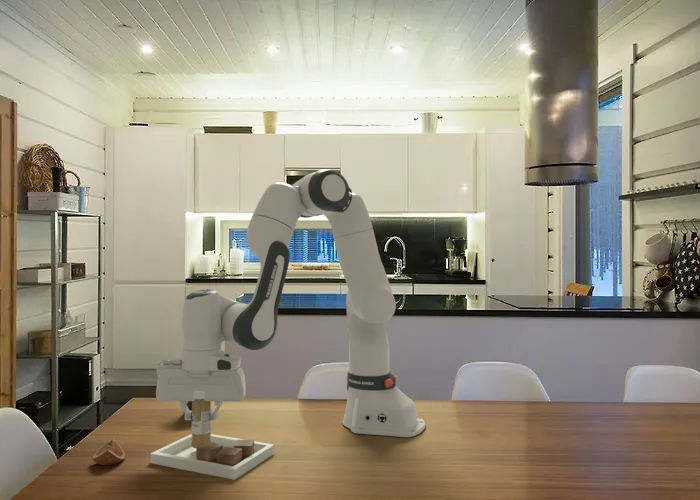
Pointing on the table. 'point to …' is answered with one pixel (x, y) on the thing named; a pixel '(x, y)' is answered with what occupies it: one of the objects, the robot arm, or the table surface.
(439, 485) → the table surface
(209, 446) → the cube
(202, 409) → the sprinkles bottle
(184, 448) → the tray
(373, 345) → the robot arm
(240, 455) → the cube
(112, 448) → the fruit slice
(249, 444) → the cube
